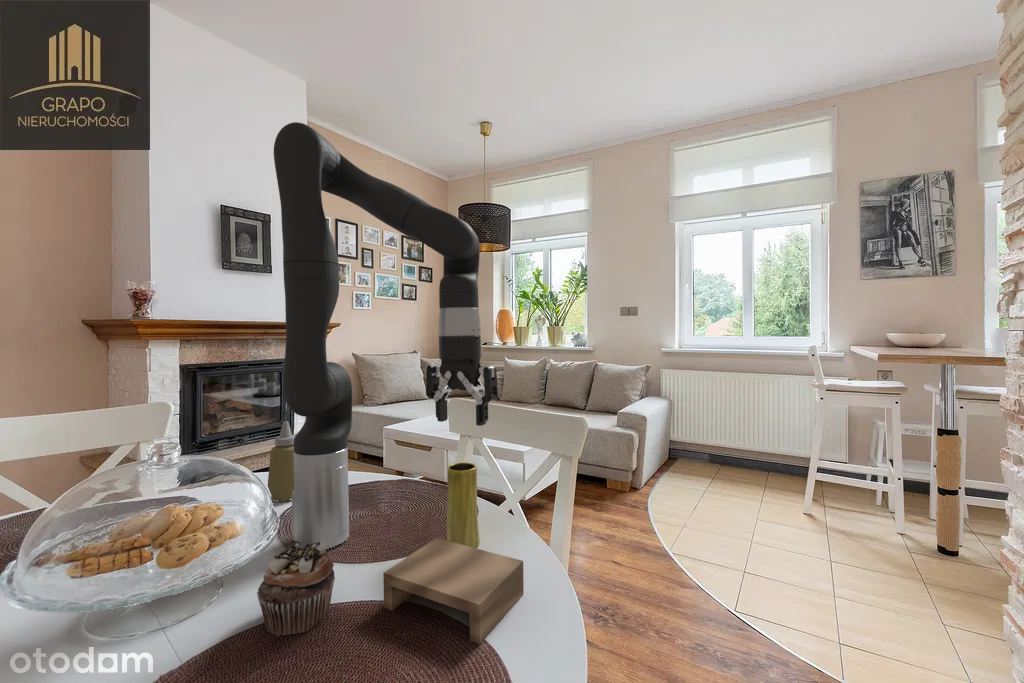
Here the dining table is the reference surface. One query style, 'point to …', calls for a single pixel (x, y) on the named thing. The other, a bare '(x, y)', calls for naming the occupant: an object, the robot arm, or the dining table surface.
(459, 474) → the vase
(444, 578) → the walnut shelf
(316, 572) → the cupcake
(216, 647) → the dining table surface
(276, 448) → the squeeze bottle
